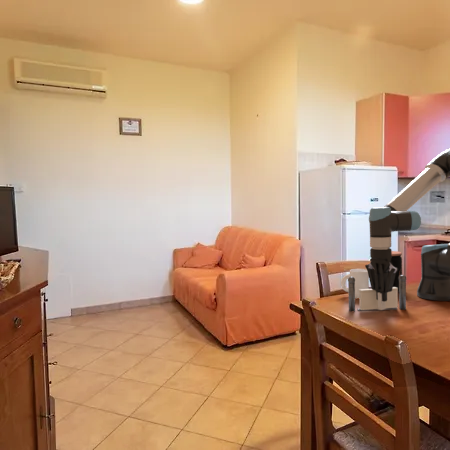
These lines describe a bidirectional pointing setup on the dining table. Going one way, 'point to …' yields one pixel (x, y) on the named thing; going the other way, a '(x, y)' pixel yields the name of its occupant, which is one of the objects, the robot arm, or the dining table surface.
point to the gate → (370, 302)
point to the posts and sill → (401, 306)
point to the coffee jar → (396, 266)
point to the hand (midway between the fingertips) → (381, 309)
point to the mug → (357, 280)
